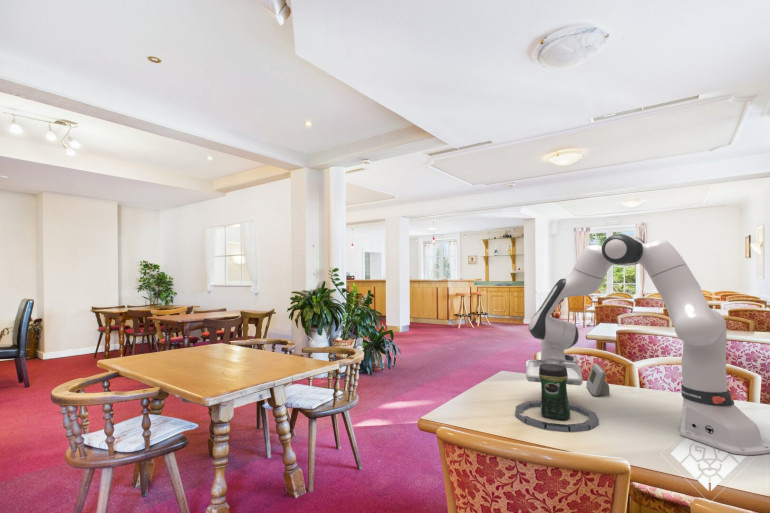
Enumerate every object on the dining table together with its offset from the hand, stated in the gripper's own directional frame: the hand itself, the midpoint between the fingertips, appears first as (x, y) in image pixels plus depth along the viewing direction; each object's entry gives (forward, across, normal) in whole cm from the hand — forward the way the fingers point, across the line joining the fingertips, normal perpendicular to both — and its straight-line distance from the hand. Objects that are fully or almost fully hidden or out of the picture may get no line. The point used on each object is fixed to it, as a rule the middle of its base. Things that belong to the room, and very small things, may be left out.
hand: (554, 392), depth 150 cm
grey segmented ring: (+10, 0, -1) cm, 10 cm away
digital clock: (-16, +16, +26) cm, 35 cm away
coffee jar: (+10, 0, 0) cm, 10 cm away
